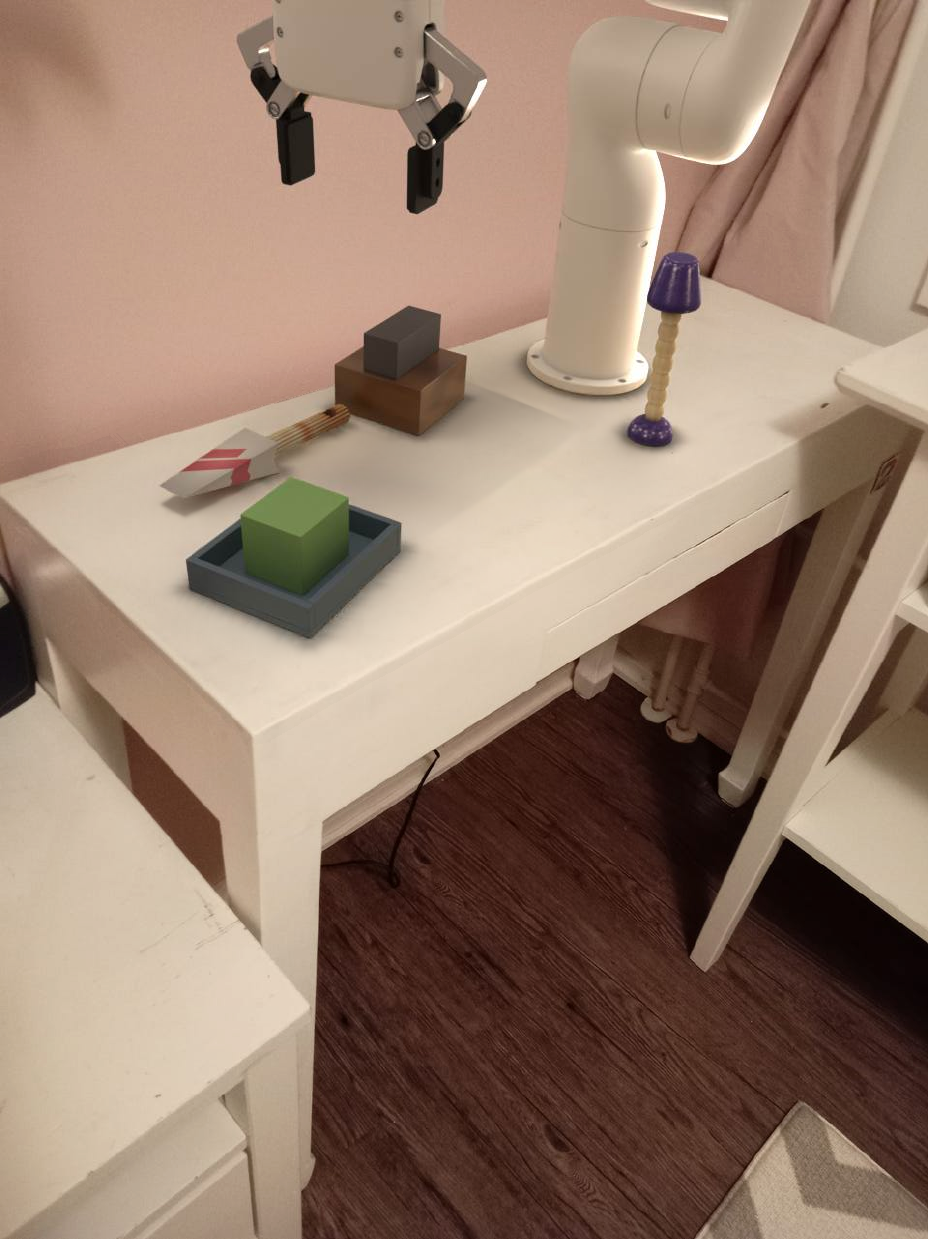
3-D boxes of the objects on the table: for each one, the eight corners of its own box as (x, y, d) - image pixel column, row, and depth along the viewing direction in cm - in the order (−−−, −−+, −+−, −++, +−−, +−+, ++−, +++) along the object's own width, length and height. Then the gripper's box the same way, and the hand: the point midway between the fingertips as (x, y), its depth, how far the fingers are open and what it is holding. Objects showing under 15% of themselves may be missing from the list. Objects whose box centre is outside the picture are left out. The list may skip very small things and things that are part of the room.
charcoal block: (407, 340, 94) (408, 305, 91) (439, 349, 93) (441, 314, 90) (363, 370, 88) (363, 333, 86) (396, 380, 87) (397, 343, 85)
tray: (289, 510, 78) (288, 482, 76) (400, 551, 74) (401, 522, 73) (189, 589, 69) (185, 559, 67) (310, 639, 66) (309, 609, 64)
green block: (293, 533, 74) (290, 476, 71) (349, 554, 73) (349, 496, 69) (244, 572, 70) (239, 514, 67) (303, 596, 68) (300, 537, 65)
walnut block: (384, 375, 98) (385, 332, 95) (463, 399, 95) (467, 355, 92) (334, 409, 91) (334, 364, 88) (418, 436, 88) (420, 390, 86)
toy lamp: (641, 451, 89) (679, 269, 79) (610, 428, 92) (643, 250, 82) (681, 441, 91) (724, 262, 81) (649, 419, 94) (687, 244, 84)
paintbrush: (152, 466, 75) (328, 392, 89) (155, 497, 77) (327, 420, 91) (186, 483, 74) (360, 406, 87) (188, 515, 75) (359, 434, 89)
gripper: (522, -114, 54) (499, 204, 66) (265, -141, 60) (283, 157, 71) (462, -107, 49) (447, 236, 60) (186, -137, 55) (219, 183, 66)
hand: (359, 193), depth 66 cm, fingers open, 9 cm apart
